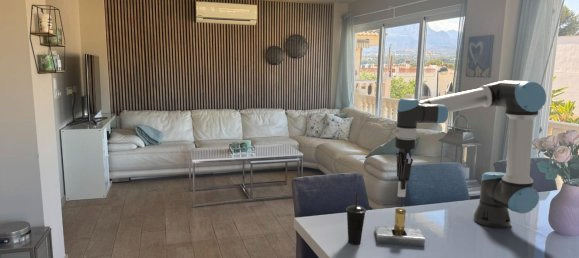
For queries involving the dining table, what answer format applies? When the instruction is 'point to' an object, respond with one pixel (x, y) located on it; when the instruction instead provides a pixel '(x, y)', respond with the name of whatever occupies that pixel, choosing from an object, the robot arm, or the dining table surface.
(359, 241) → the black tumbler with straw
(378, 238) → the jig
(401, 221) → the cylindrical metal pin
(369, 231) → the dining table surface
